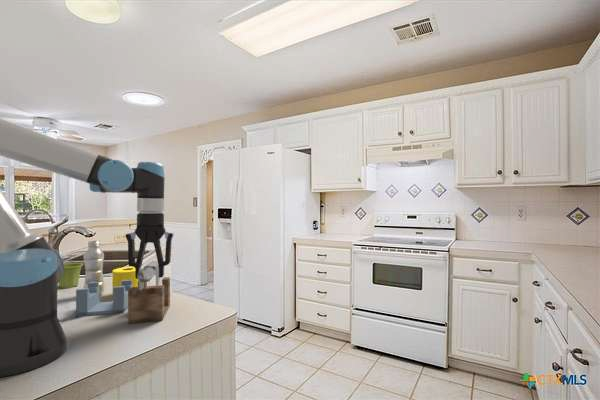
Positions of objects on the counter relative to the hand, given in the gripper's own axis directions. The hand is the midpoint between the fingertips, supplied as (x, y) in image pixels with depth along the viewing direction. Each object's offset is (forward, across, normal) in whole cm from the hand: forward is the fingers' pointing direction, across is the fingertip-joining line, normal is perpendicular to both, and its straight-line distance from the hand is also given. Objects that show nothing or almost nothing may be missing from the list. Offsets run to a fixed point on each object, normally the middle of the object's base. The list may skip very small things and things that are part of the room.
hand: (149, 288), depth 93 cm
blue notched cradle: (+8, +15, -8) cm, 19 cm away
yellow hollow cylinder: (+8, +13, -24) cm, 28 cm away
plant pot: (+9, +40, -42) cm, 58 cm away
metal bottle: (+8, +25, -26) cm, 37 cm away
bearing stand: (+8, 0, 0) cm, 8 cm away
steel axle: (-3, 0, 0) cm, 3 cm away
